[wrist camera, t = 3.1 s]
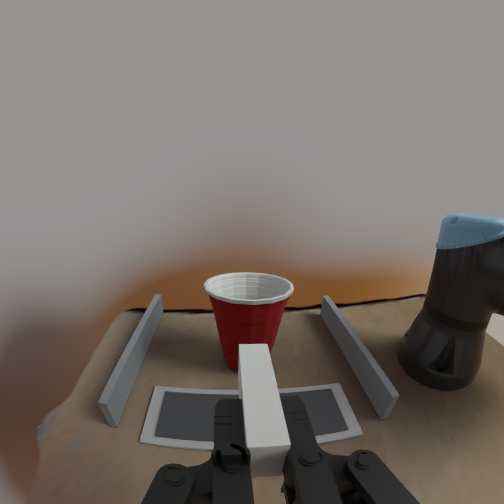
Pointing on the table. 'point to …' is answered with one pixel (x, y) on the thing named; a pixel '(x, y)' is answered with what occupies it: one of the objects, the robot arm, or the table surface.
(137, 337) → the guide rails
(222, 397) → the pad
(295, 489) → the robot arm
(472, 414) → the table surface
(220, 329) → the plastic cup
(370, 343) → the table surface
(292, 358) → the table surface
